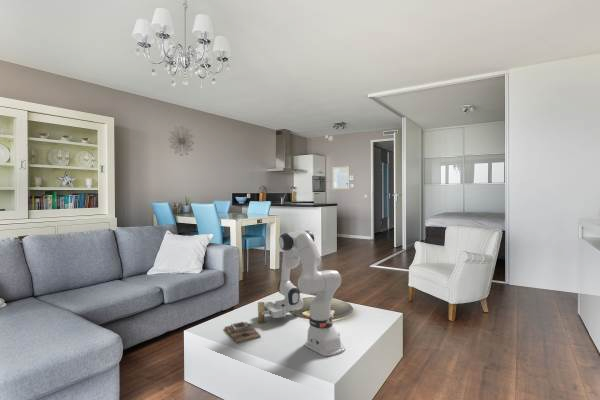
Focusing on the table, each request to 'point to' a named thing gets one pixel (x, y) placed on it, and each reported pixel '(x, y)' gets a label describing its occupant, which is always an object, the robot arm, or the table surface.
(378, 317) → the table surface
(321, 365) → the table surface
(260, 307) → the brass peg
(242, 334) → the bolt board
